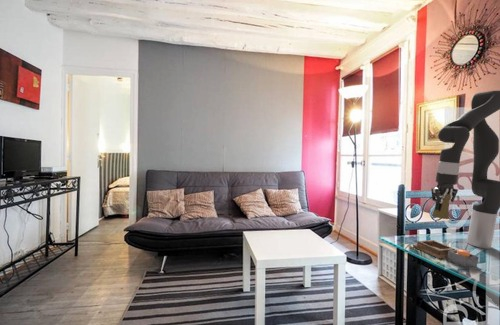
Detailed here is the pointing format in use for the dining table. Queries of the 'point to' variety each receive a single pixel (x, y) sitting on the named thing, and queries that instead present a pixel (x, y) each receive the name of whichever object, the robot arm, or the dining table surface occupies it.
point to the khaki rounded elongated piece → (443, 208)
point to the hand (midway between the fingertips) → (441, 210)
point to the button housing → (462, 259)
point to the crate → (433, 248)
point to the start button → (463, 252)
